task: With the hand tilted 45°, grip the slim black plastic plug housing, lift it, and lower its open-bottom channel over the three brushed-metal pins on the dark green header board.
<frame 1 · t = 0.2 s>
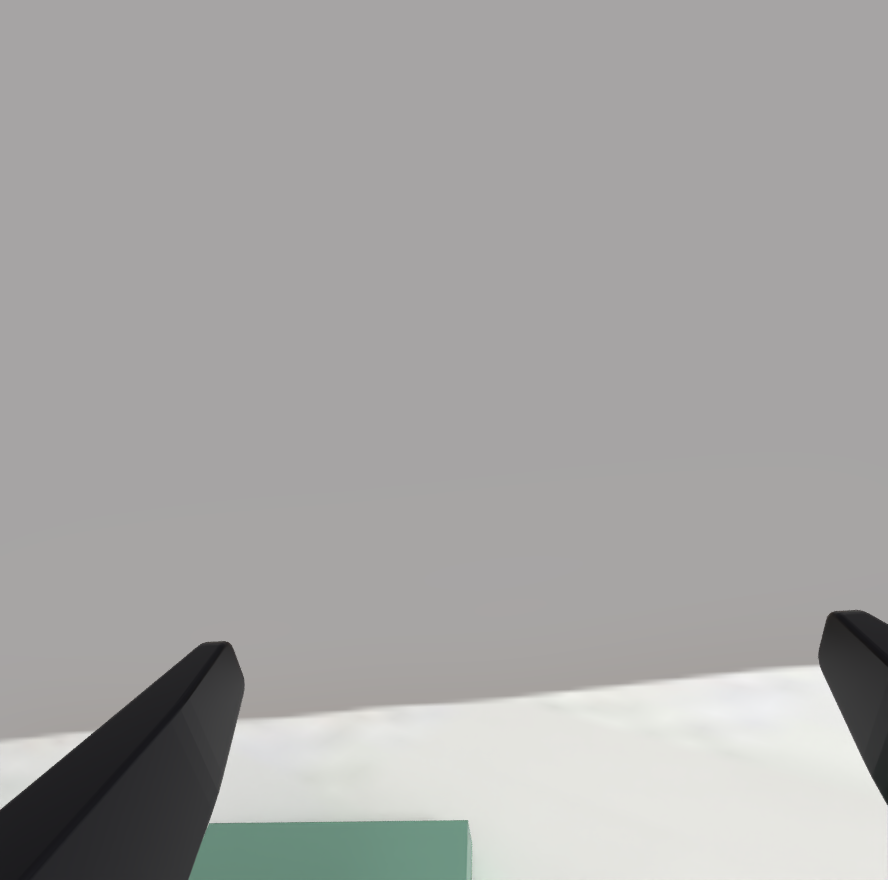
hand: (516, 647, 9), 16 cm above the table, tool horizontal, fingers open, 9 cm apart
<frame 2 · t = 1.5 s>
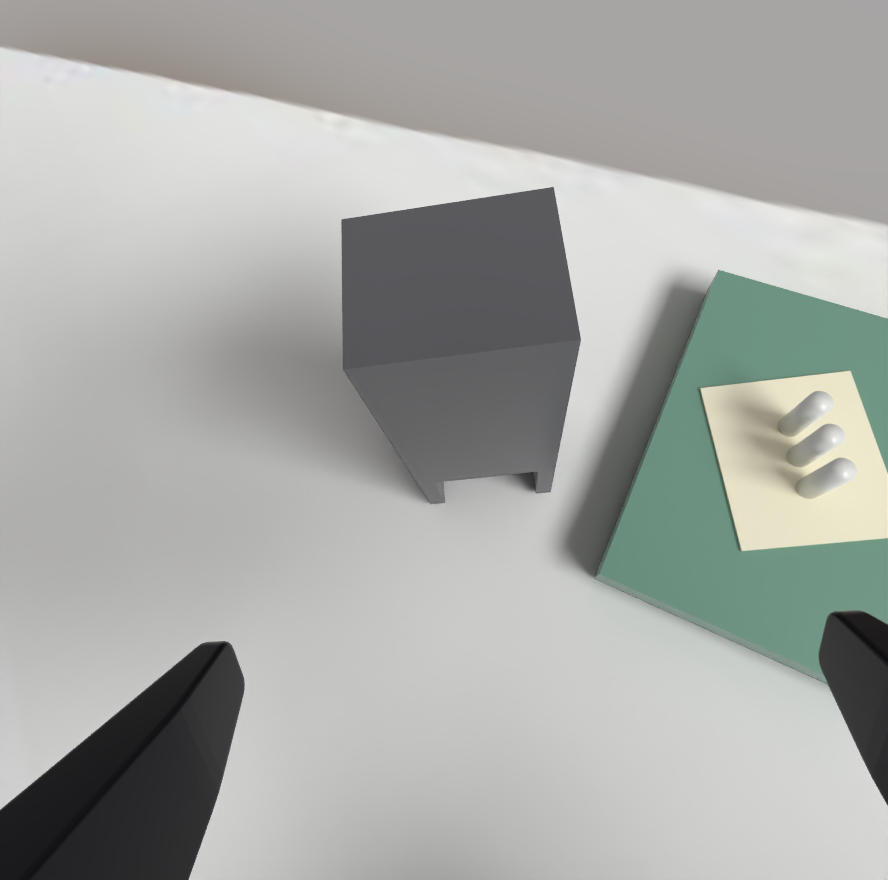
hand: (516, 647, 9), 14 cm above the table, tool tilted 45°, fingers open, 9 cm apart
header board: (779, 469, 22), on the table
plug housing: (485, 452, 24), on the table
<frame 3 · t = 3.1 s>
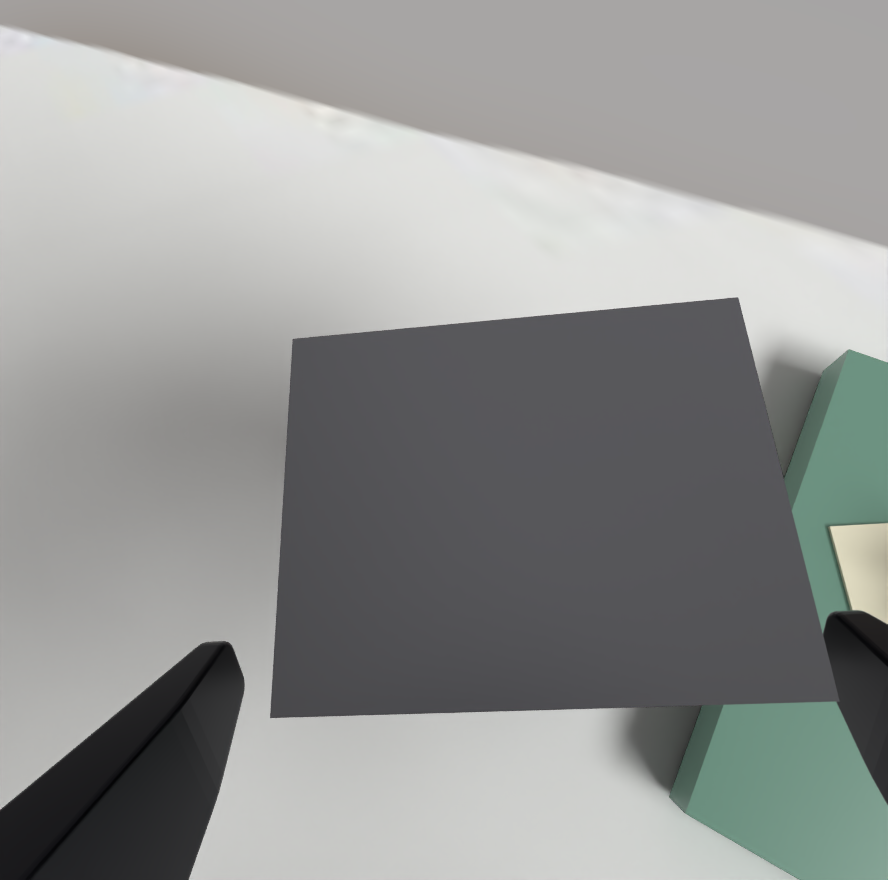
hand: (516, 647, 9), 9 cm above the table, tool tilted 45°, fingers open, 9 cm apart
plug housing: (514, 590, 17), on the table
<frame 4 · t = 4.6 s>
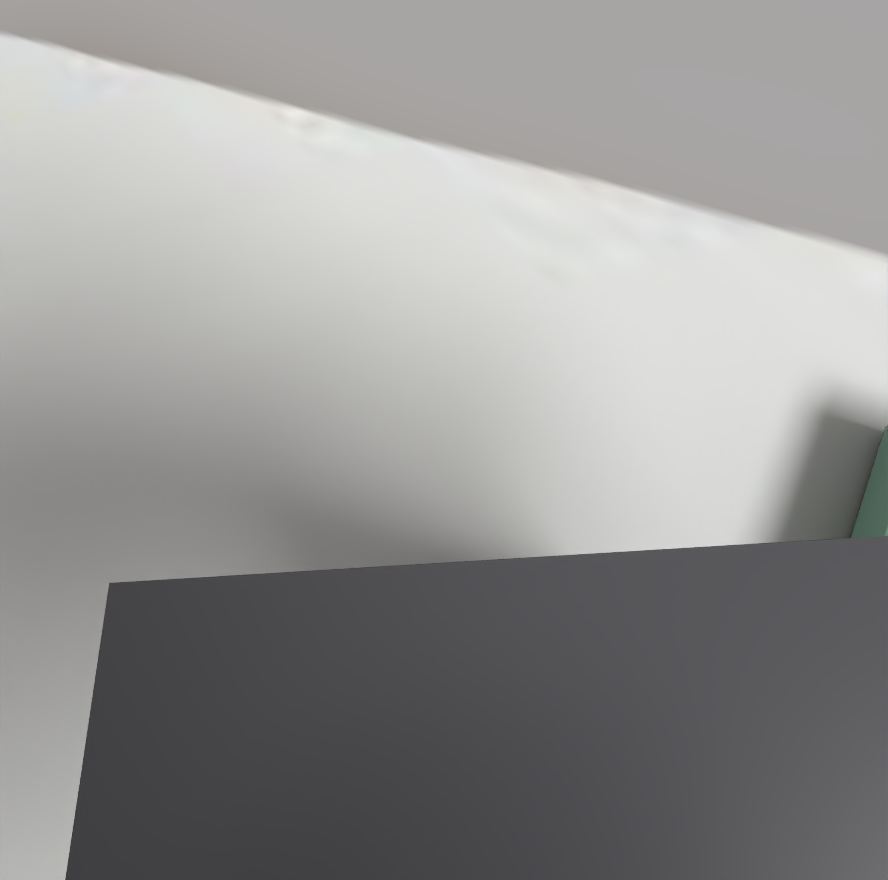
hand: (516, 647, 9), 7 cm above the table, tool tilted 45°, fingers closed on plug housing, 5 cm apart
plug housing: (518, 700, 14), on the table, touching gripper
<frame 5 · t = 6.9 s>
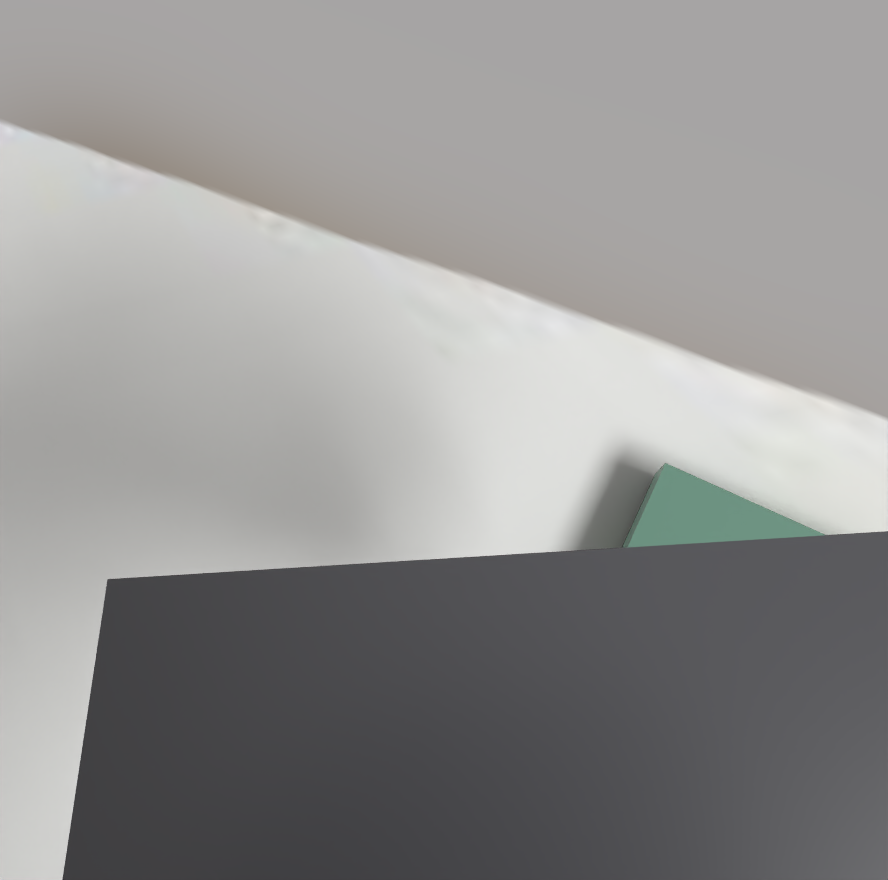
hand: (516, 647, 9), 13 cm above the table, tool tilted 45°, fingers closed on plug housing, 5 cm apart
header board: (715, 707, 20), on the table
plug housing: (517, 699, 14), point 7 cm above the table, touching gripper
when the fingers open (9 cm above the table, at t = 9.1 s): plug housing stays where it is, resting on header board.
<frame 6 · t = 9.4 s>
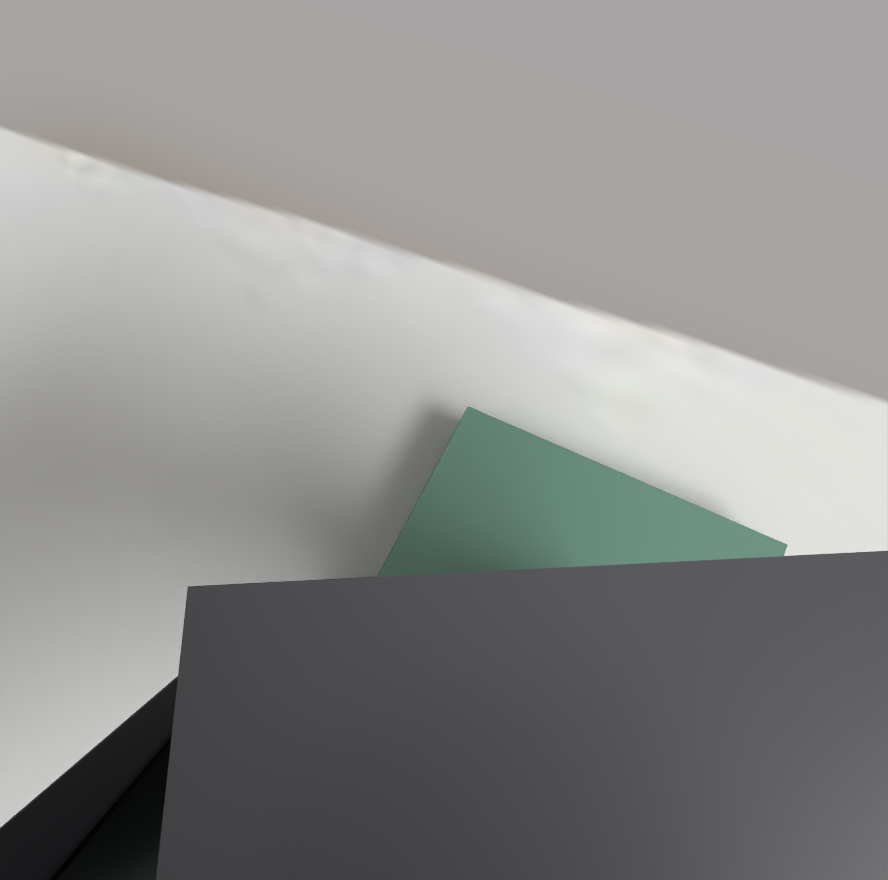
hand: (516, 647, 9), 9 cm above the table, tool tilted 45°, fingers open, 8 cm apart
header board: (517, 689, 17), on the table
plug housing: (518, 694, 15), point 2 cm above the table, touching header board
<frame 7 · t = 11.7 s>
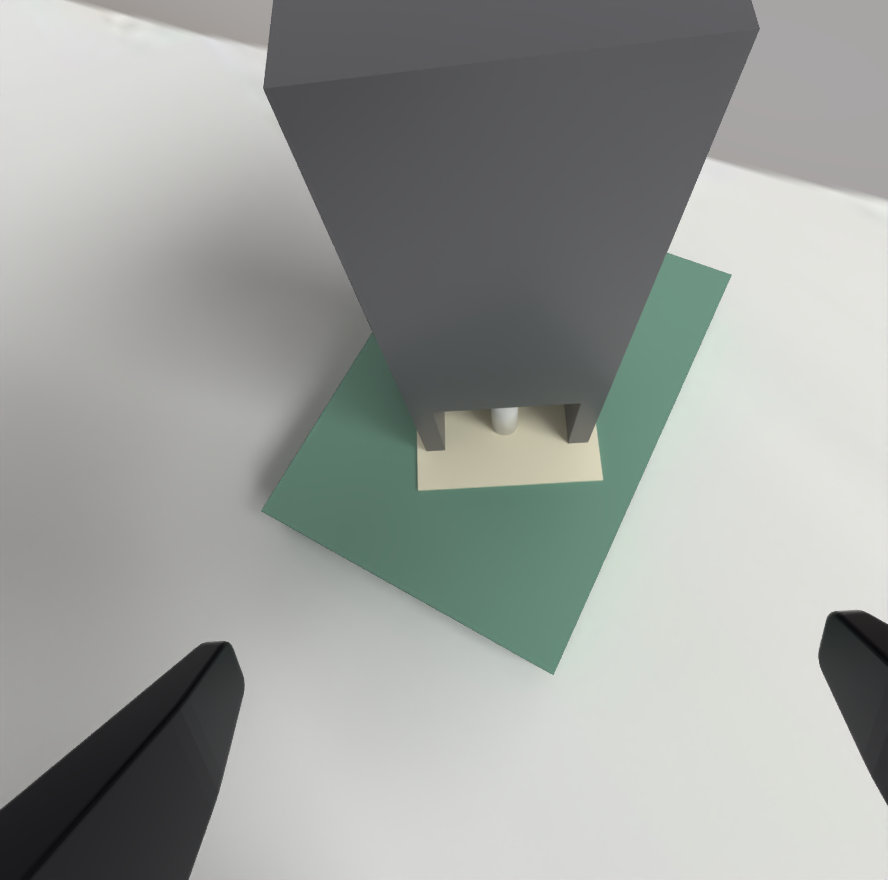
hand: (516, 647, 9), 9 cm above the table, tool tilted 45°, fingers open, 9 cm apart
header board: (502, 407, 20), on the table
plug housing: (502, 388, 18), point 2 cm above the table, touching header board
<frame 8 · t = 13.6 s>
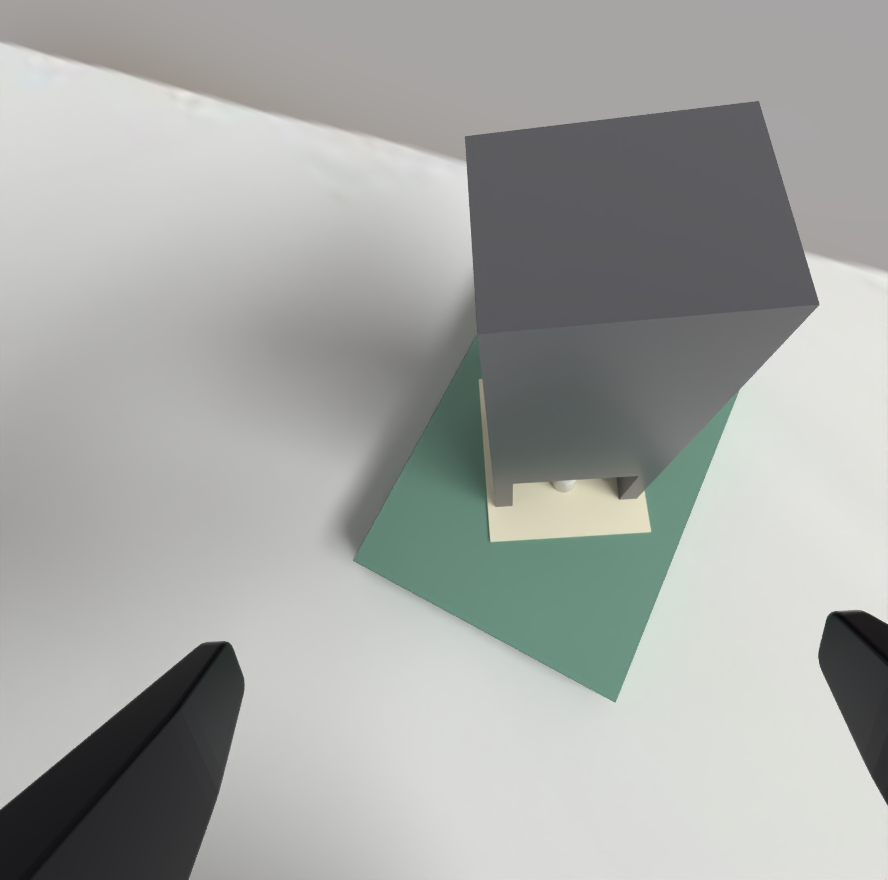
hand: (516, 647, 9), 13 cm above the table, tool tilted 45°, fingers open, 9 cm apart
header board: (556, 463, 22), on the table
plug housing: (559, 450, 21), point 2 cm above the table, touching header board
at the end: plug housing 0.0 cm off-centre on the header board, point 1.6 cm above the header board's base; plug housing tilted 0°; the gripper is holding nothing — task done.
